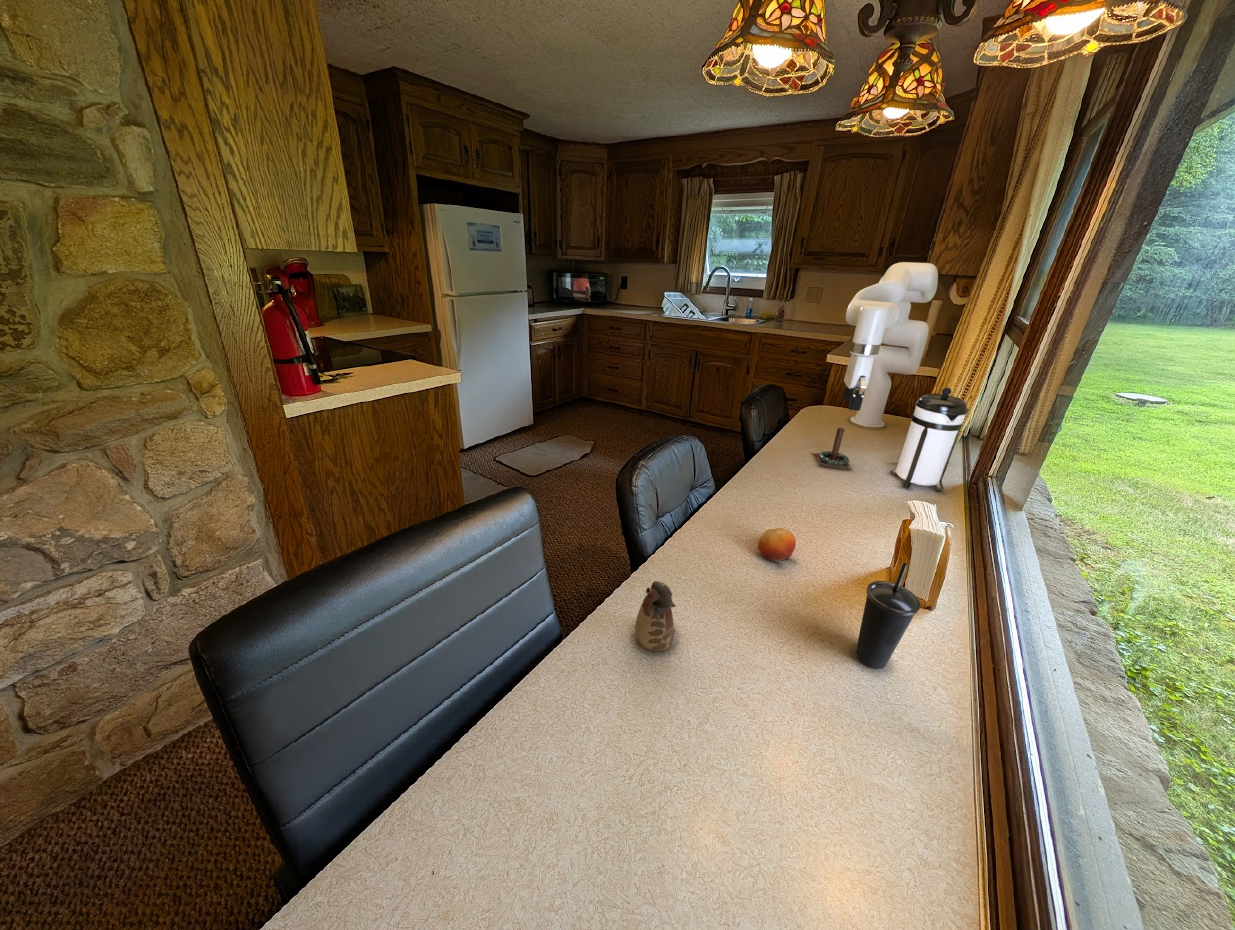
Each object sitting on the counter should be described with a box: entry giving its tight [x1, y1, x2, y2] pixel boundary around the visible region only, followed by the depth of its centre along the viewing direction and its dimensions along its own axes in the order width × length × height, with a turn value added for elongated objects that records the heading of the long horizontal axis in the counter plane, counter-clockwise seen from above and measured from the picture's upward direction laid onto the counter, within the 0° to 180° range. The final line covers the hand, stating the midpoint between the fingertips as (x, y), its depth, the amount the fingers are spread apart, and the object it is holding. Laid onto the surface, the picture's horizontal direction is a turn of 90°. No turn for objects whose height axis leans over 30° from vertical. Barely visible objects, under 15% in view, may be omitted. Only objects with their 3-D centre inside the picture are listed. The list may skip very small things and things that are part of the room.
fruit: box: [757, 527, 797, 564], centre depth 104 cm, size 8×8×8 cm
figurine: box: [634, 580, 677, 653], centre depth 80 cm, size 7×7×12 cm
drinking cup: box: [855, 562, 921, 670], centre depth 75 cm, size 8×8×20 cm
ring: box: [819, 450, 850, 466], centre depth 152 cm, size 9×9×2 cm
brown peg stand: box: [816, 427, 851, 471], centre depth 151 cm, size 9×9×12 cm
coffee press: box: [889, 387, 970, 493], centre depth 137 cm, size 17×16×30 cm
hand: (850, 404), depth 142 cm, fingers open, 9 cm apart
